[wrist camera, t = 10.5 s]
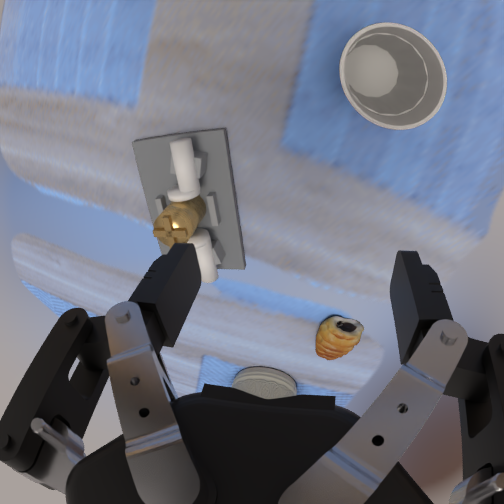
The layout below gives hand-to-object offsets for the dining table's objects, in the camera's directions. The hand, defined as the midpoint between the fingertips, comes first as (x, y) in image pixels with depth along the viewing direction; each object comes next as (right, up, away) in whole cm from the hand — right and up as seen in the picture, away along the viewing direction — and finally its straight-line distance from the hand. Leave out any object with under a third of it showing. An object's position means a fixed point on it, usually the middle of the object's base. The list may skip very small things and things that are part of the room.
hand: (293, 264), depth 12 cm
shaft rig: (-9, +7, +28) cm, 30 cm away
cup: (+10, +19, +15) cm, 27 cm away
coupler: (-9, +6, +27) cm, 30 cm away
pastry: (+12, -12, +37) cm, 41 cm away
